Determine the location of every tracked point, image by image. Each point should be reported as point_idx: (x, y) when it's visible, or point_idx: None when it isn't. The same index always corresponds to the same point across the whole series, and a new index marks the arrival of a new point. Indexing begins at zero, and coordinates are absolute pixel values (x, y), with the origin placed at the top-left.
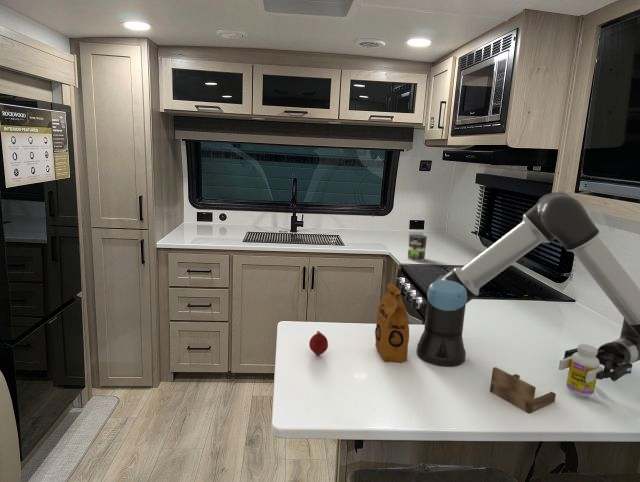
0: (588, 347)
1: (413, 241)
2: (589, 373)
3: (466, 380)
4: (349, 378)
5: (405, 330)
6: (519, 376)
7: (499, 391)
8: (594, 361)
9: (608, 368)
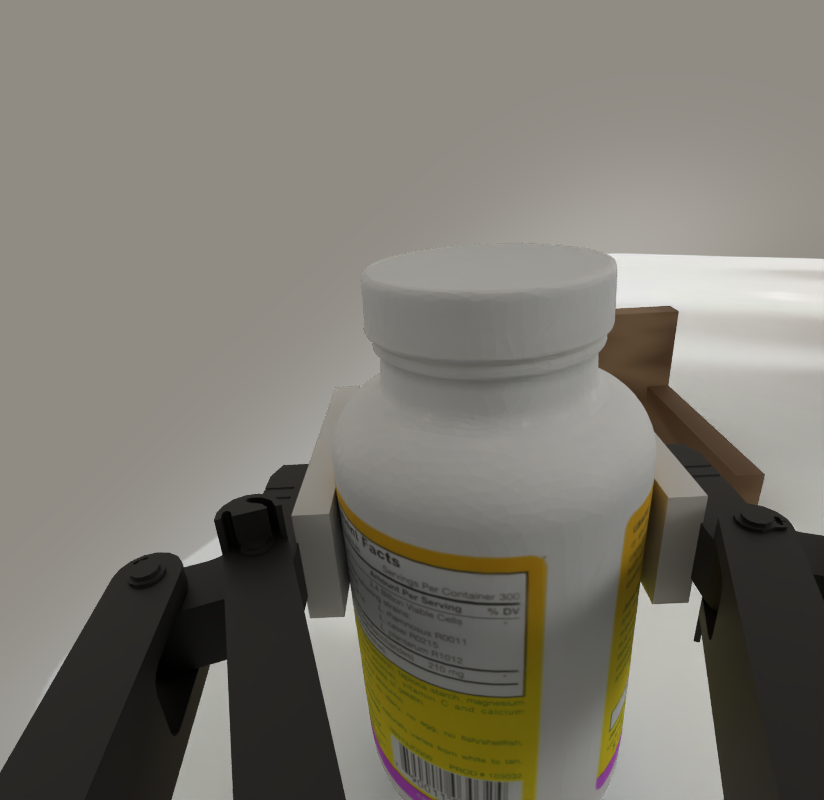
0: (489, 266)
1: None
2: (341, 389)
3: (762, 403)
4: (761, 288)
5: None
6: (733, 478)
7: None
8: (364, 385)
9: (228, 516)
